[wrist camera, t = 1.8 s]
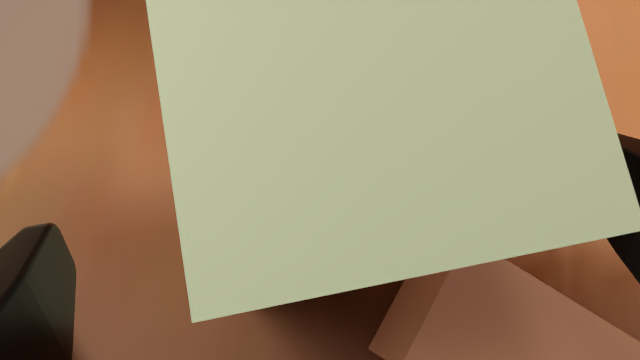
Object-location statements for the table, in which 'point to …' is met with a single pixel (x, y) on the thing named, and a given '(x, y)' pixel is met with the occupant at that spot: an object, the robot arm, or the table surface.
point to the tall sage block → (378, 141)
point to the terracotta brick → (494, 320)
